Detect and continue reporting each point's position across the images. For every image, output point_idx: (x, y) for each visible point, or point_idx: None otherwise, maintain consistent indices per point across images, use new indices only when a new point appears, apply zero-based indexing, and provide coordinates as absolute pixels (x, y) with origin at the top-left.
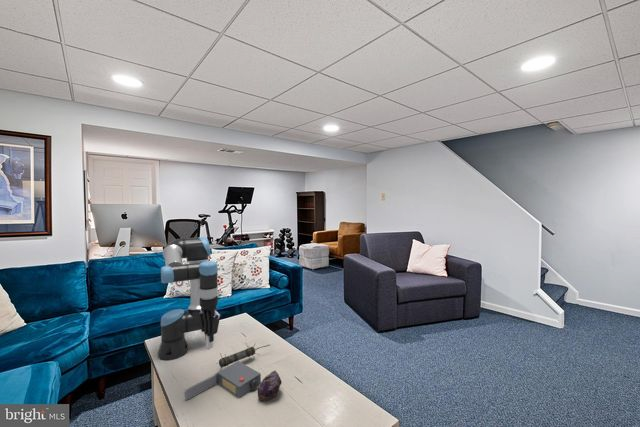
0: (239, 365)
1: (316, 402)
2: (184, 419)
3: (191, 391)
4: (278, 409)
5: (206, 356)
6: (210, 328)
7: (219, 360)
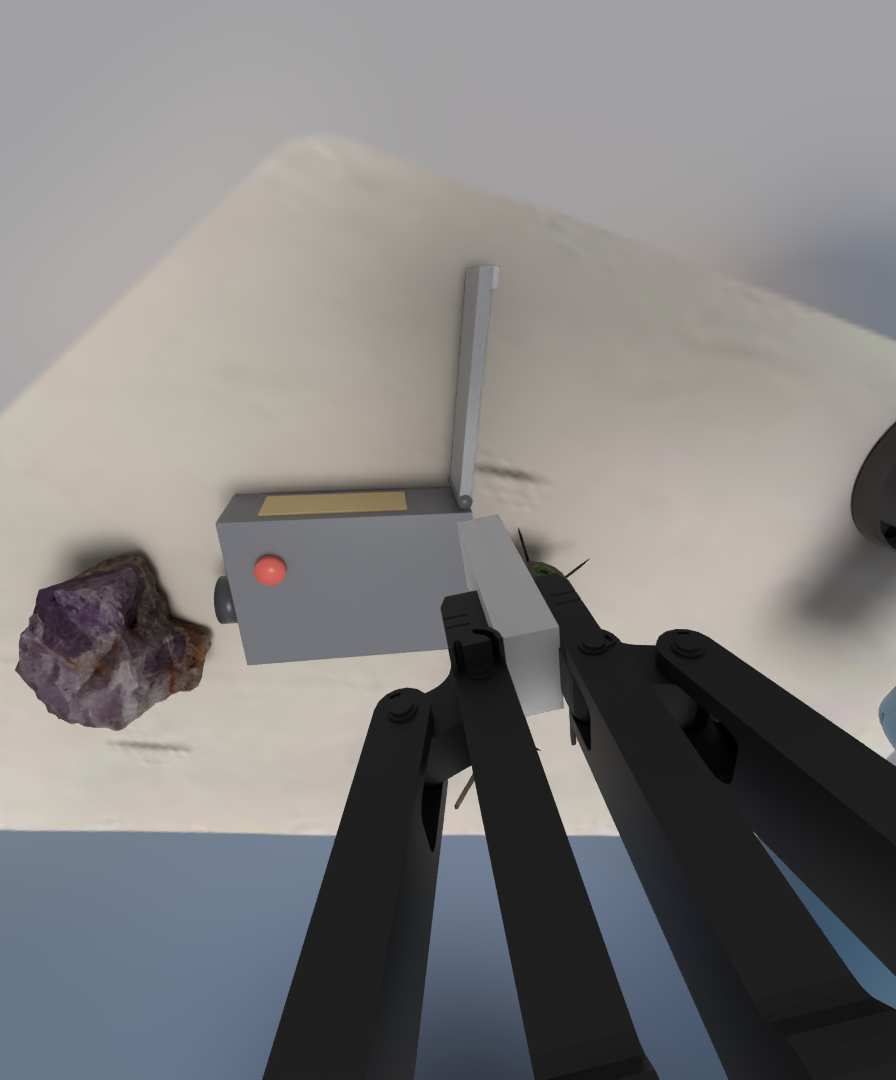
0: (419, 630)
1: None
2: (304, 153)
3: (470, 311)
4: None
5: (717, 569)
6: (478, 794)
7: None
